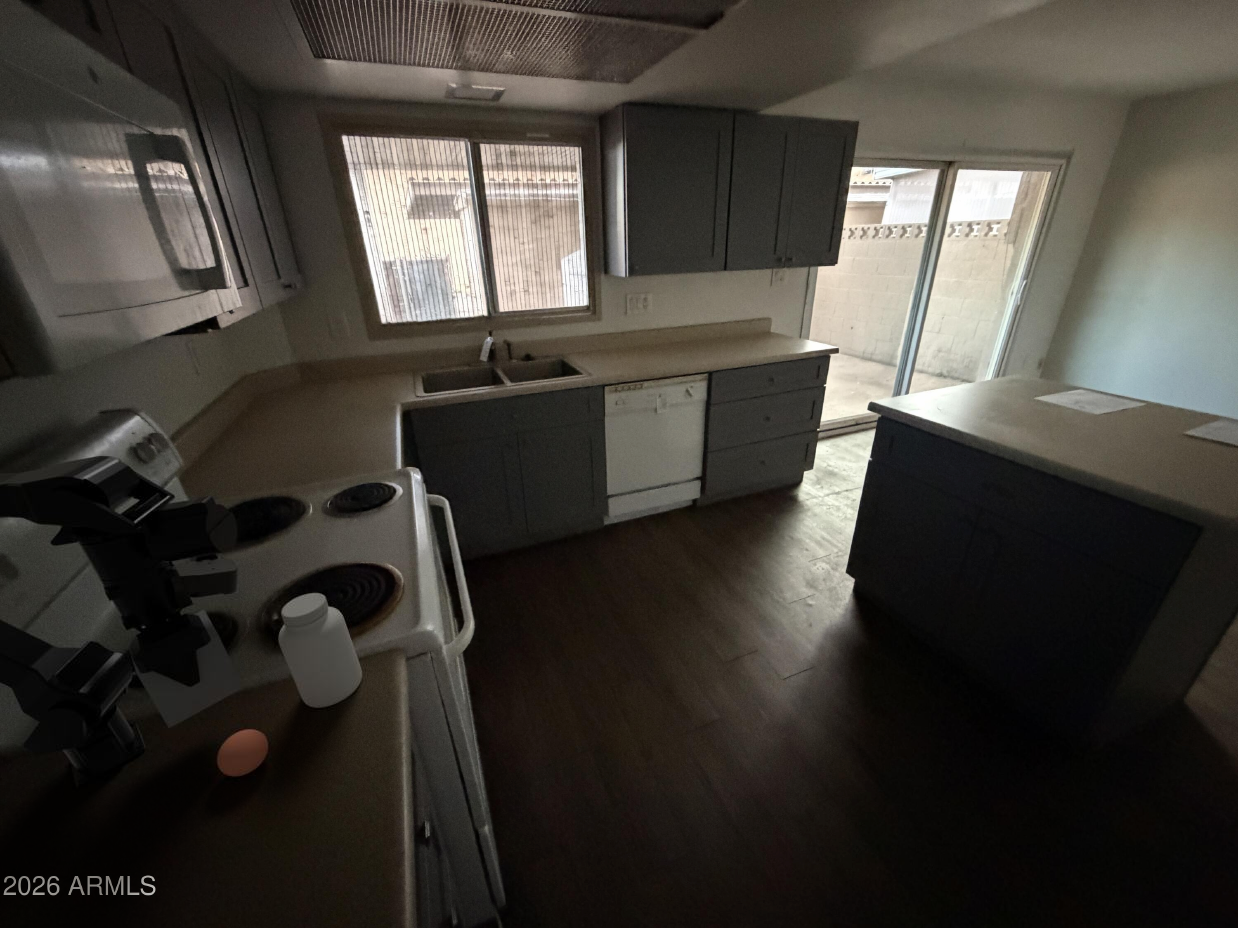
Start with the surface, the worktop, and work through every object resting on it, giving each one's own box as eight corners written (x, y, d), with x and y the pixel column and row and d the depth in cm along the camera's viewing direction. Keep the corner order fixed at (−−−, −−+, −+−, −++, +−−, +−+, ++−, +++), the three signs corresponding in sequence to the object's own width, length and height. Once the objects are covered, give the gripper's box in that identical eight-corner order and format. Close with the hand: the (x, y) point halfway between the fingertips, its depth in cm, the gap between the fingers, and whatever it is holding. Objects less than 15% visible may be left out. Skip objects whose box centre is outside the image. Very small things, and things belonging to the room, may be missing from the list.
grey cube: (158, 695, 64) (127, 642, 61) (228, 659, 70) (204, 609, 66) (169, 728, 60) (136, 673, 56) (244, 687, 65) (218, 634, 61)
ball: (220, 769, 62) (205, 742, 60) (265, 740, 65) (252, 713, 63) (233, 794, 59) (217, 765, 57) (279, 761, 62) (266, 734, 60)
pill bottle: (374, 666, 76) (347, 586, 70) (342, 710, 69) (309, 626, 63) (326, 664, 77) (295, 585, 71) (290, 708, 70) (252, 624, 64)
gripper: (237, 560, 56) (282, 664, 63) (201, 514, 68) (242, 605, 74) (104, 613, 49) (171, 725, 55) (89, 551, 61) (145, 649, 67)
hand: (188, 668), depth 63 cm, fingers closed on grey cube, 8 cm apart
